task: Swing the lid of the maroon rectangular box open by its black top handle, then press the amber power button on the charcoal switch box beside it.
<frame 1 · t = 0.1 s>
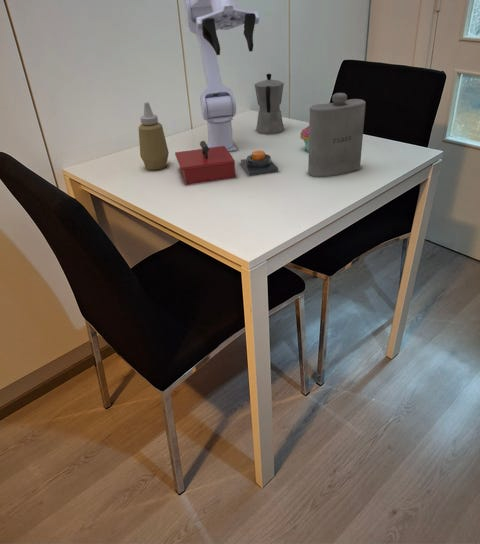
hand: (235, 50, 110), 32 cm above the table, tool tilted 50°, fingers open, 7 cm apart
squeeze bottle: (156, 167, 140), on the table
flask: (335, 171, 130), on the table
power button: (258, 155, 133), point 3 cm above the table, slide at 0.1 cm
cupcake: (314, 150, 145), on the table
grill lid: (203, 151, 130), point 6 cm above the table, hinge at 0.0°
coffeepot: (269, 131, 163), on the table
maroon rectangular box: (206, 173, 134), on the table
switch box: (258, 167, 135), on the table
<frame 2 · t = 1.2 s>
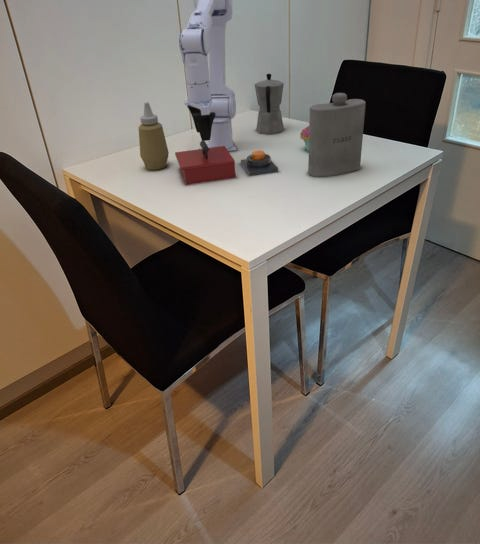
hand: (203, 135, 128), 10 cm above the table, tool pointing down, fingers open, 7 cm apart
nothing on the table moved.
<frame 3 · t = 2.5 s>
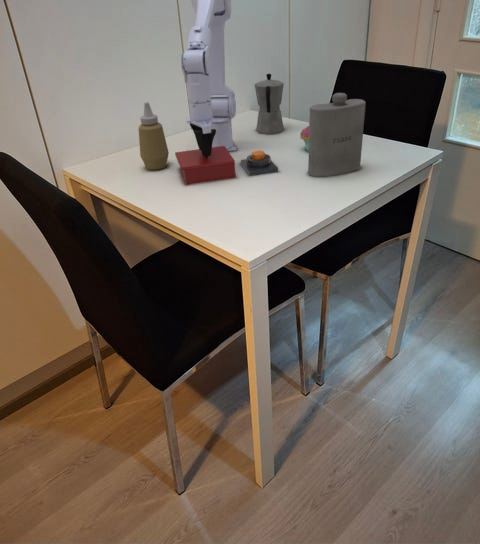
hand: (204, 152, 131), 6 cm above the table, tool pointing down, fingers closed on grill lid, 5 cm apart
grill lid: (203, 151, 130), point 6 cm above the table, hinge at 0.0°, touching gripper
everything else where it was.
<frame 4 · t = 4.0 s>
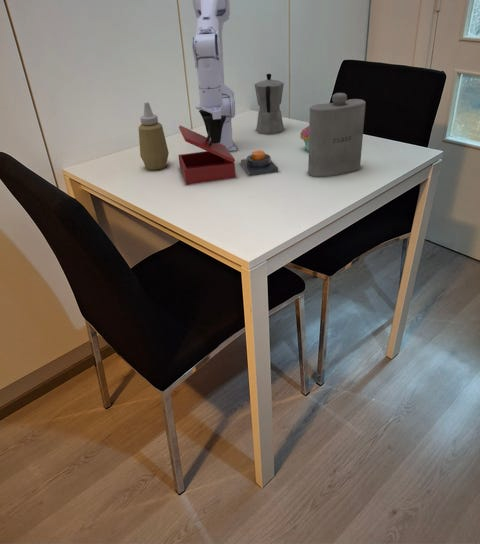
hand: (214, 139, 129), 9 cm above the table, tool pointing down, fingers closed on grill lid, 5 cm apart
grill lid: (209, 137, 129), point 10 cm above the table, hinge at 31.3°, touching gripper
everything else where it was.
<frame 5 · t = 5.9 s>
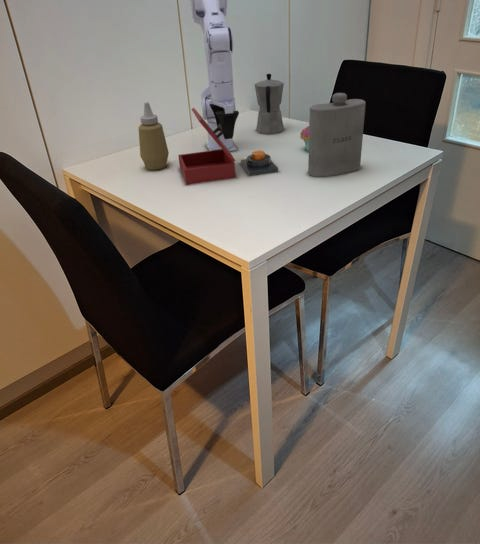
hand: (225, 134, 129), 10 cm above the table, tool pointing down, fingers open, 7 cm apart
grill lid: (218, 130, 128), point 11 cm above the table, hinge at 55.7°
everything else where it was.
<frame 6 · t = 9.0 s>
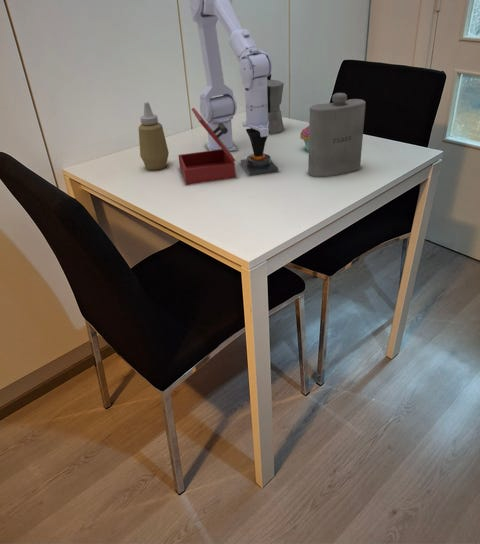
hand: (258, 155, 133), 4 cm above the table, tool pointing down, fingers closed, pressing on power button
power button: (258, 158, 134), point 3 cm above the table, slide at -0.6 cm, touching gripper
everything else where it was.
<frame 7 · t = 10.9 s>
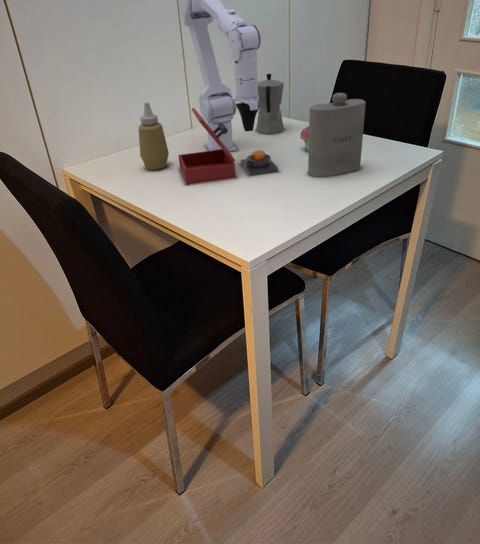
hand: (248, 130, 132), 10 cm above the table, tool pointing down, fingers closed
power button: (258, 155, 133), point 3 cm above the table, slide at 0.1 cm
everything else where it was.
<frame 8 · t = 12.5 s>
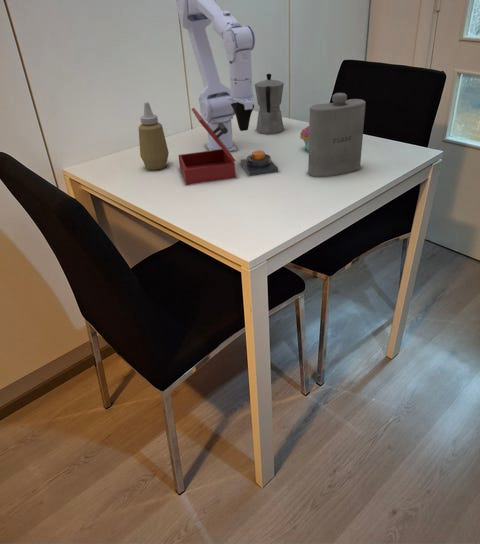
hand: (243, 129, 134), 9 cm above the table, tool pointing down, fingers closed
nothing on the table moved.
at the end: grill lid at +56° (first picture: +0°); power button pushed in 1.2 cm at the most during the clip, back to where it started at the end; power button slide at 0.1 cm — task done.
